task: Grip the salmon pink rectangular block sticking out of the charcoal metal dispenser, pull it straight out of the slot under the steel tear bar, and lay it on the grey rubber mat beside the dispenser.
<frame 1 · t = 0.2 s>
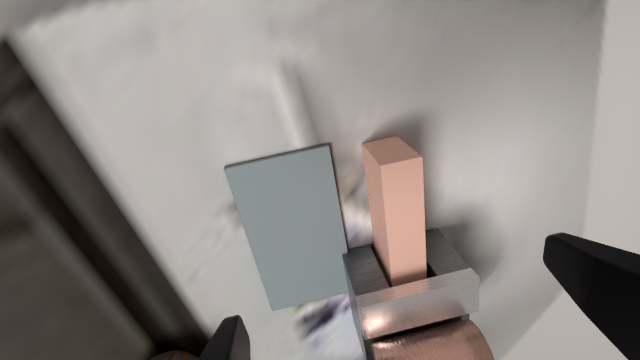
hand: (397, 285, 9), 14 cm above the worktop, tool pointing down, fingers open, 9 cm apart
dispenser: (393, 277, 27), on the worktop
salmon pink rectangular block: (384, 201, 24), on the worktop
mat: (297, 234, 24), on the worktop
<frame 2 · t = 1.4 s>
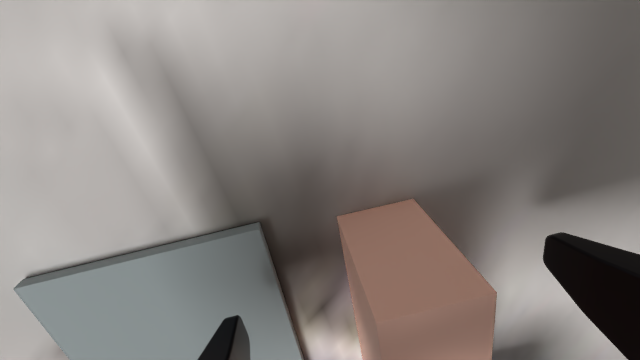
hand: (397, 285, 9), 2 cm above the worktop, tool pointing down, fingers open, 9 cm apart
salmon pink rectangular block: (387, 316, 12), on the worktop
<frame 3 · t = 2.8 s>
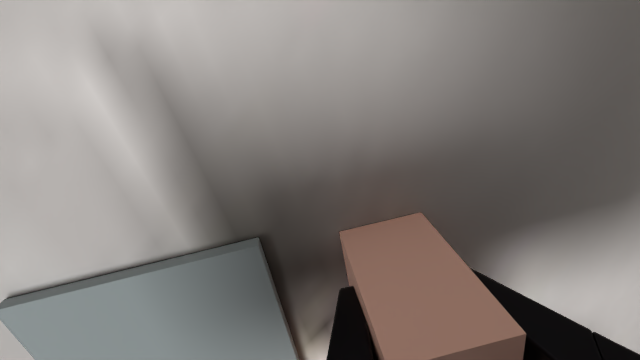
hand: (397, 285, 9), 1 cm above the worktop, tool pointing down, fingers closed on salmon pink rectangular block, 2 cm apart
salmon pink rectangular block: (394, 337, 12), on the worktop, touching gripper
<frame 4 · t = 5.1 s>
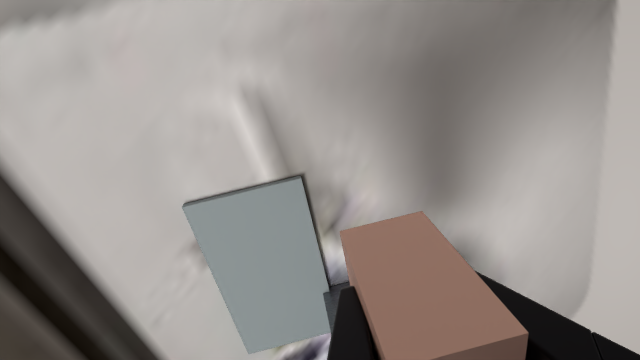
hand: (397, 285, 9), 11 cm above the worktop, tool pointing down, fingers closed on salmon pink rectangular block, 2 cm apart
dispenser: (382, 313, 25), on the worktop
salmon pink rectangular block: (396, 337, 11), point 10 cm above the worktop, touching gripper
mat: (271, 273, 22), on the worktop
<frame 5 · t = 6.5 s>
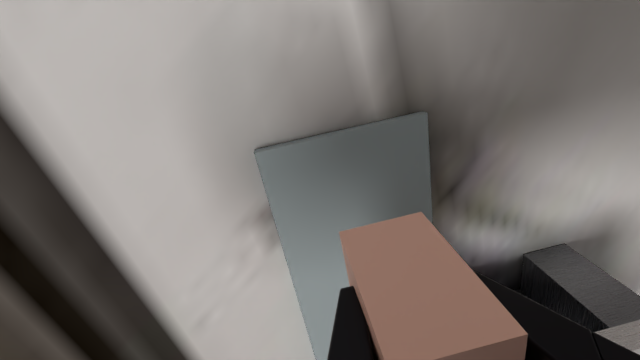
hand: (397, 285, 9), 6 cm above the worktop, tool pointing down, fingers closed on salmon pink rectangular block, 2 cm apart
dispenser: (491, 314, 19), on the worktop
salmon pink rectangular block: (395, 337, 11), point 5 cm above the worktop, touching gripper
mat: (361, 256, 16), on the worktop
when the fingers open (3 cm above the worktop, at t = 7.7 s): salmon pink rectangular block drops 1 cm, resting on mat.
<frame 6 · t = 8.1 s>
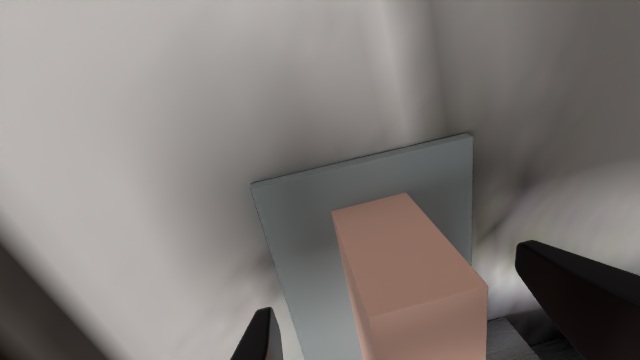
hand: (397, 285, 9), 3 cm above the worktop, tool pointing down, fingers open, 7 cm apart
salmon pink rectangular block: (385, 312, 12), resting on mat
mat: (382, 306, 13), on the worktop
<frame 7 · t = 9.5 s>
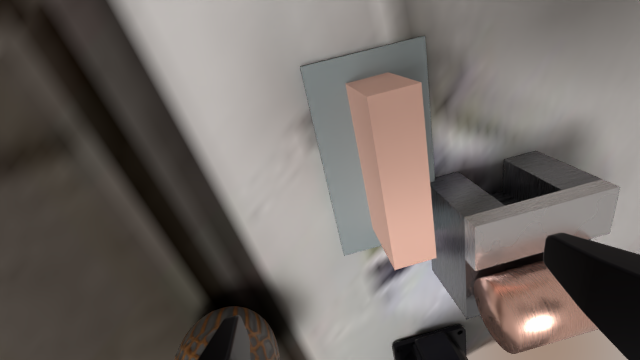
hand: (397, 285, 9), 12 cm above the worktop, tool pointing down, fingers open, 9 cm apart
dispenser: (480, 214, 24), on the worktop
salmon pink rectangular block: (379, 158, 20), resting on mat
vase: (233, 323, 25), on the worktop
mat: (377, 158, 20), on the worktop
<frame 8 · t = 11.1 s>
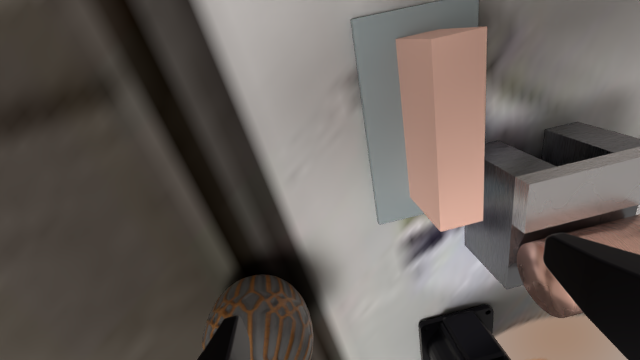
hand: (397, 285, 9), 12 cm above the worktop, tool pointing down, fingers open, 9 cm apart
dispenser: (517, 187, 23), on the worktop
salmon pink rectangular block: (423, 121, 20), resting on mat
vase: (260, 294, 24), on the worktop
mat: (419, 122, 20), on the worktop
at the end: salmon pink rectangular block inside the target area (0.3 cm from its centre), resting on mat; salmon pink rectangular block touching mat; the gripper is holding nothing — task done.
